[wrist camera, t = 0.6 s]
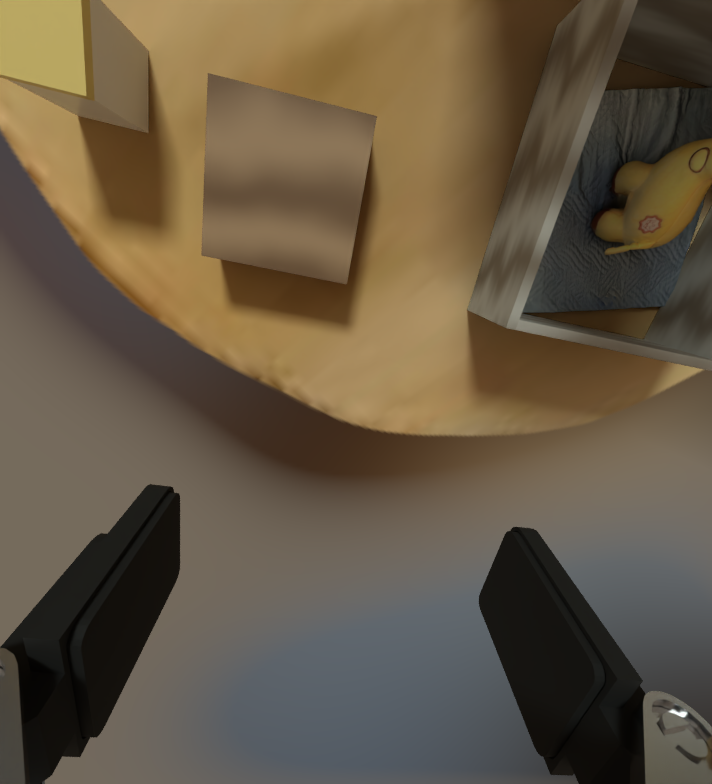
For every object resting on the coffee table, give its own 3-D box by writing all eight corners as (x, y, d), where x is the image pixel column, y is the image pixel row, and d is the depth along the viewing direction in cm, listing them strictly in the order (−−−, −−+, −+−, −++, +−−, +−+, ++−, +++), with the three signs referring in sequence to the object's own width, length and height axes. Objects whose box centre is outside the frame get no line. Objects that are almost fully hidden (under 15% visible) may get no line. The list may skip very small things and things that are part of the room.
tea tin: (71, 27, 27) (-32, -58, 19) (149, 49, 27) (79, -26, 20) (76, 116, 29) (-15, 71, 21) (149, 135, 30) (86, 96, 22)
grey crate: (557, 25, 28) (649, -71, 20) (776, 95, 30) (942, 36, 22) (467, 310, 36) (506, 328, 28) (646, 348, 38) (731, 375, 30)
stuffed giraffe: (730, 87, 30) (1096, -58, 15) (663, 305, 37) (866, 350, 22) (538, 95, 30) (715, -40, 15) (508, 311, 37) (610, 359, 22)
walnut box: (228, 101, 29) (208, 73, 25) (371, 136, 30) (376, 116, 26) (220, 254, 33) (201, 255, 29) (345, 280, 35) (346, 284, 30)
